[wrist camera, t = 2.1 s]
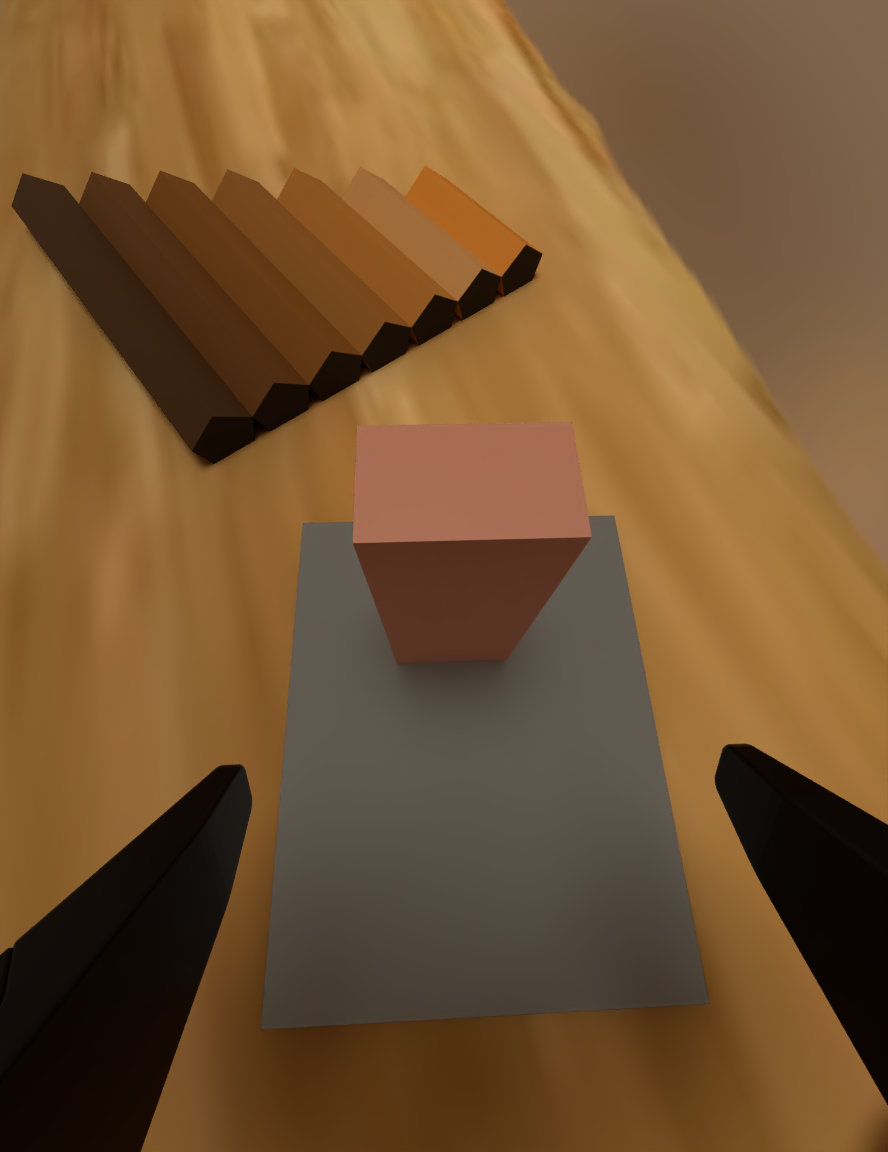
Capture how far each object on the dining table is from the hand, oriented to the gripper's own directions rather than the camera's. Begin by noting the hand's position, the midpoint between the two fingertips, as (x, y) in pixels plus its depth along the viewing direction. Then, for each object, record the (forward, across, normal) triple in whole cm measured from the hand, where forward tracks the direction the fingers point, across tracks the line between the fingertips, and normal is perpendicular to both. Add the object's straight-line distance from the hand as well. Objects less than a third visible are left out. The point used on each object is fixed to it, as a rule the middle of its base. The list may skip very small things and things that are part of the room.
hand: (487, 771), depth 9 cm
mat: (+10, -1, +8) cm, 13 cm away
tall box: (+12, 0, +4) cm, 13 cm away
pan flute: (+33, +10, -14) cm, 37 cm away
